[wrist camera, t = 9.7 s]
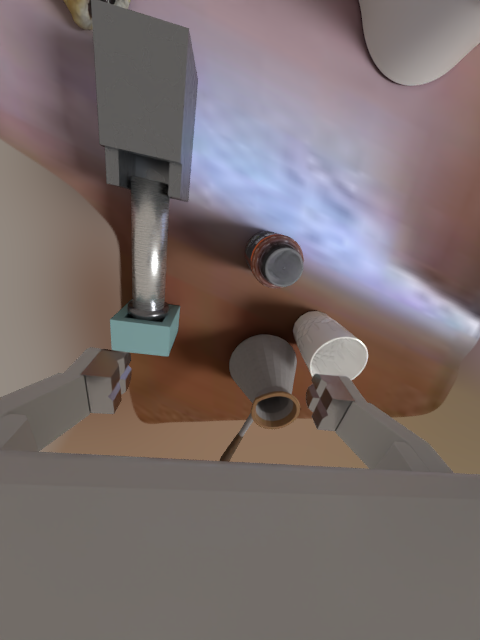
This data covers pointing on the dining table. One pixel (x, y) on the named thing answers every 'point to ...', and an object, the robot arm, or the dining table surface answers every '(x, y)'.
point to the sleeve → (144, 97)
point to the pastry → (88, 10)
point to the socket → (144, 333)
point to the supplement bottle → (274, 259)
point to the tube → (149, 248)
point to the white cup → (329, 346)
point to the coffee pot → (264, 383)
